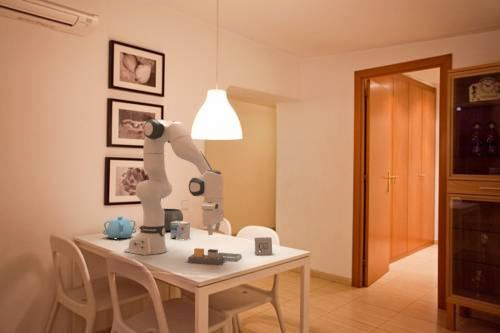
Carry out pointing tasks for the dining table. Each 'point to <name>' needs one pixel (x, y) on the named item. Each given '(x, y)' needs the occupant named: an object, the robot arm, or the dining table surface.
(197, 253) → the fuse
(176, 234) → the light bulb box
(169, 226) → the dark gray rounded block
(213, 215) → the robot arm
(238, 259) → the parts tray
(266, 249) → the electrical switch
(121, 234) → the decorative pot
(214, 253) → the fuse
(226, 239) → the dining table surface
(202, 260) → the fuse block
